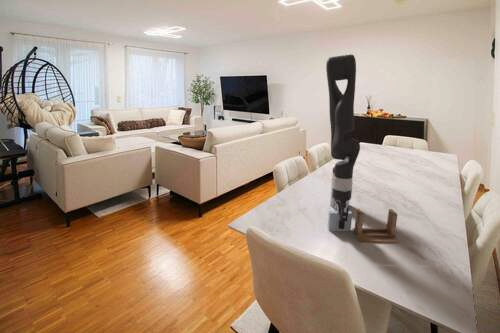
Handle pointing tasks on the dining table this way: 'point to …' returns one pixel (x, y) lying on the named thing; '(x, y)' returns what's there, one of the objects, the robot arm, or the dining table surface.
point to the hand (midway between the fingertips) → (339, 224)
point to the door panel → (334, 221)
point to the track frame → (376, 229)
